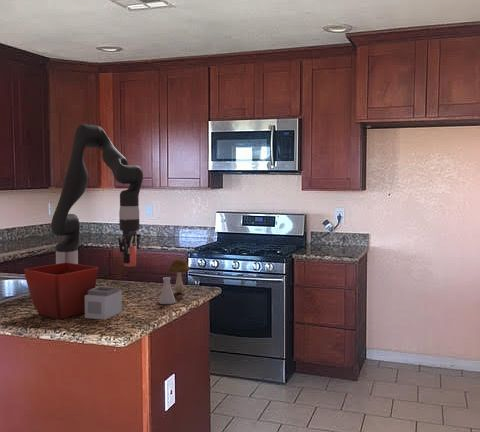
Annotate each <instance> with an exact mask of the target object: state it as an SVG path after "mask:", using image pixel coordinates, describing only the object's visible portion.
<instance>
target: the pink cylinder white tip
mask: <svg viewBox="0 0 480 432" xmlns="http://www.w3.org/2000/svg"><path fill="white" fill-rule="evenodd" d="M136 246H137V245H136ZM136 246H133V244H132V247H131V248H130V253H129V254H130V263H128V264H127V263H124V262H123V266H124V267H135V266H136V267H137V251H136ZM127 249H128V247H127Z"/></svg>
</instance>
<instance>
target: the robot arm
mask: <svg viewBox="0 0 480 432" xmlns="http://www.w3.org/2000/svg"><path fill="white" fill-rule="evenodd" d="M86 148H91V149H92V148H93V149H95V148H97V149H99V150H100V151H102V152H101V157H102V158H101V159H102V160H103V162H104V163H105V165H106V166H107V167H108V169H110V170H111V172H112V175H113V176H114V180H115V181H116V182H117V183H119V184H123V185H129V186H128V188H127V189H125V190H122V191H120V193H119V211H118V213H119V215H118V216H119V221H118V222H119V223H118V224H119V226H118V227H119V231H121V232H122V235H121V237H118V240H117V241H118V247H119V252H120V253H122V254H123V264H124V263H127V264H128V263H130V254H129V253H130V248H131V247H132V244H133V246H136V252H137V251H138V250H139V249H140V241H141V234H140V233H137V231H139V230H140V228H141V227H140V207H139V205H140V203H139V202H140V201H139V200H140V199H139V197H140V196H139V195H140V191H141V187H142V183H143V179H144V173H143V170H142V168H141V167H140V166H139V165H131V164H128V160H127V158H126V157H125V156H124V155H123V154H122V153H121V152H120V151H119V150H118V149H117V148H116V147H115V146H114V144H113V142H112V141H111V139H110V138H109V136H108V134H107V133H106V131H105V130H104V129H103V128H102V127H101V126H99V125H96V124H95V125H94V124H87V123H81V124H78V126H77V127H76V128H75V132H74V136H73V142H72V146H71V152H70V159H69V162H68V166H67V170H66V173H65V177H64V179H63V185H62V190H61V193H60V197H59V200H58V202H57V204H56V208H55V210H54V213H53V216H52V217H51V218H52V219H51V222H50V230H51V232H52V234H53V235H54V236H58V237H64V236H65V238H64V239H63V240H61V241H60V242H58V243H57V244H56V245H55V264H59V263H74V264H79V251H78V249H79V244H80V231H81V229H80V220H79V217H78V215H76V214H75V213H69V212H70V210H71V209H72V207H73V206H74V205H75V204H76V203H77V201H79V199H81V197H82V196H83V195H84V193H85V192H86V188H87V184H88V180H89V172H88V169H87V167H86V163H85V161H84V153H85V149H86ZM127 247H128V249H127Z"/></svg>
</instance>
